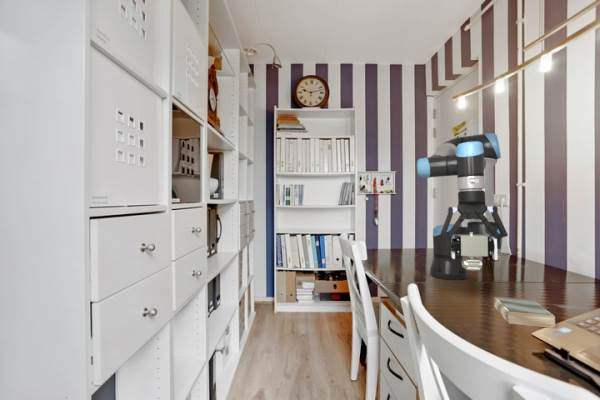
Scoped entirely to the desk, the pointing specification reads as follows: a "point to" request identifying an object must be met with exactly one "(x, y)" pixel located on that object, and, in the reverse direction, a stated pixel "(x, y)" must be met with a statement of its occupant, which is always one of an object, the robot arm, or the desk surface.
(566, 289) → the desk surface
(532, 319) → the book
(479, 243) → the pneumatic valve
